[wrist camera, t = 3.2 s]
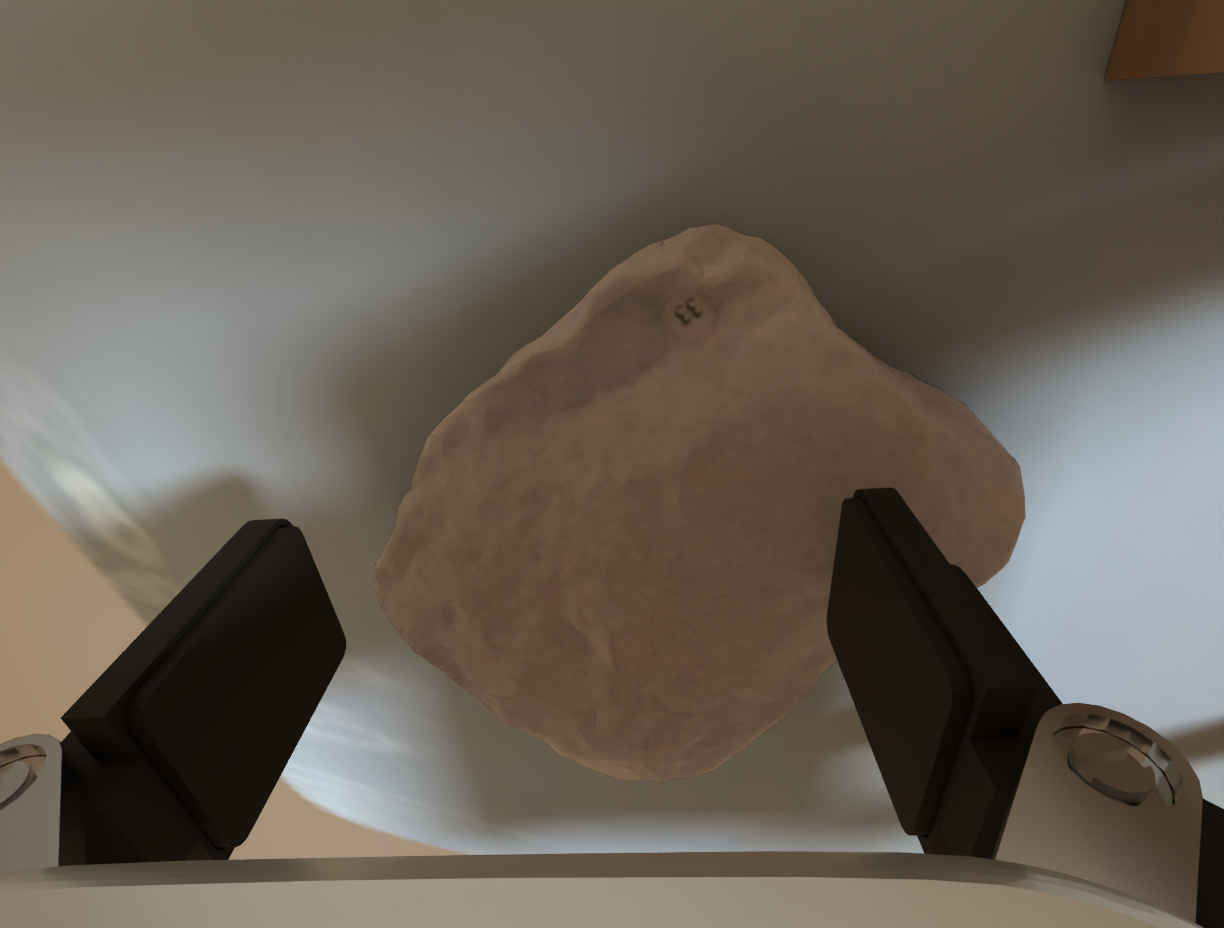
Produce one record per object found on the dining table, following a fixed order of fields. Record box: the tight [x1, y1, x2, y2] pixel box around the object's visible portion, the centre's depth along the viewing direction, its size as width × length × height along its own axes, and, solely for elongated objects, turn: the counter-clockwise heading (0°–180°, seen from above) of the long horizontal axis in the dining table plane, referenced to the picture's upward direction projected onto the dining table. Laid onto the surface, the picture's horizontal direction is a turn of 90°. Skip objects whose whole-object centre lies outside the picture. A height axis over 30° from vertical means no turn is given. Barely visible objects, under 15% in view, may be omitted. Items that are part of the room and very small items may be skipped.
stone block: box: [374, 224, 1025, 783], centre depth 13 cm, size 12×5×10 cm
